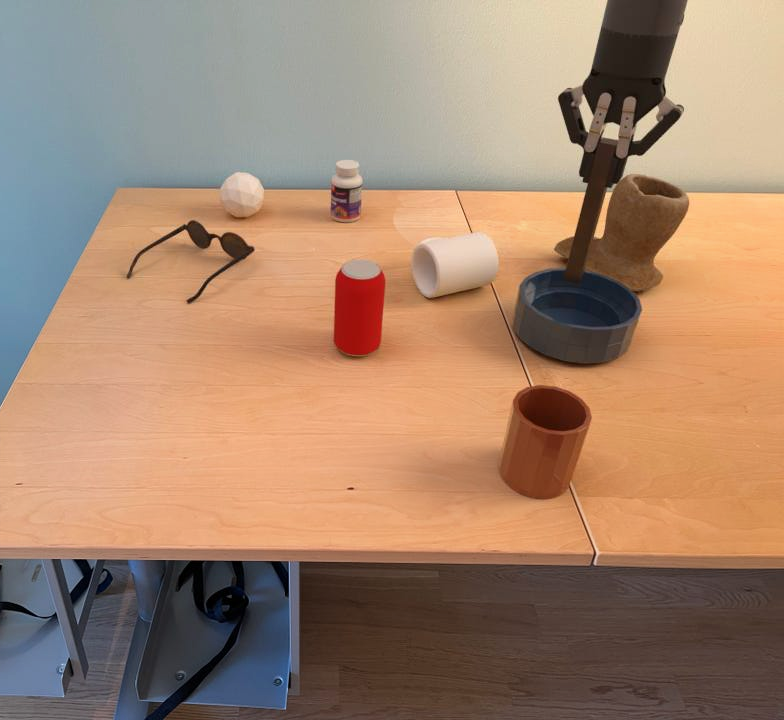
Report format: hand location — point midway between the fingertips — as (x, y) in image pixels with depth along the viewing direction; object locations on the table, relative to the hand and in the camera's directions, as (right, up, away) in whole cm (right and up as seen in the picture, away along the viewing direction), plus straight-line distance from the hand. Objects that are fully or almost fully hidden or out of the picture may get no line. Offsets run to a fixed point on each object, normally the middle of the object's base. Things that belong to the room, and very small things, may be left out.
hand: (598, 182), depth 83 cm
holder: (-10, -33, -8) cm, 36 cm away
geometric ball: (-46, +5, +43) cm, 63 cm away
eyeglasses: (-53, -7, +27) cm, 60 cm away
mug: (-14, -9, +24) cm, 29 cm away
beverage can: (-28, -20, +10) cm, 35 cm away
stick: (0, -10, +8) cm, 13 cm away
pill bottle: (-28, +4, +42) cm, 50 cm away
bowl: (+1, -18, +12) cm, 21 cm away
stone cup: (+13, -7, +26) cm, 30 cm away
